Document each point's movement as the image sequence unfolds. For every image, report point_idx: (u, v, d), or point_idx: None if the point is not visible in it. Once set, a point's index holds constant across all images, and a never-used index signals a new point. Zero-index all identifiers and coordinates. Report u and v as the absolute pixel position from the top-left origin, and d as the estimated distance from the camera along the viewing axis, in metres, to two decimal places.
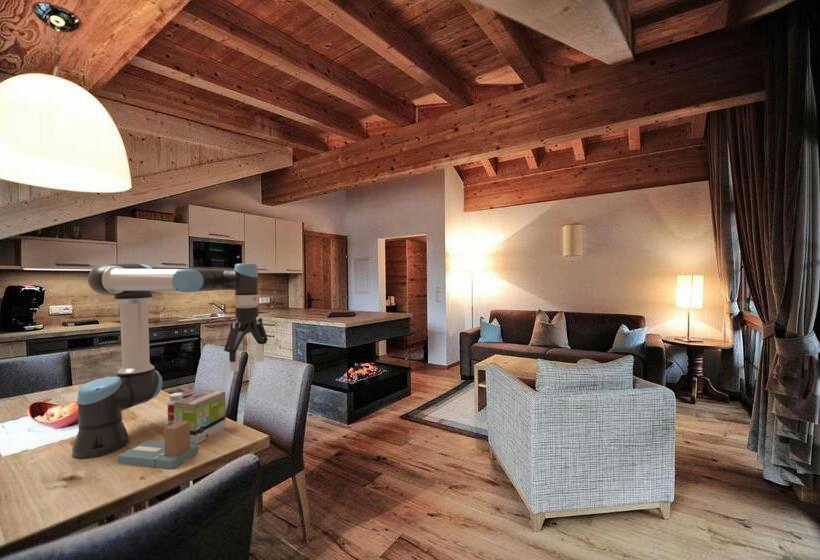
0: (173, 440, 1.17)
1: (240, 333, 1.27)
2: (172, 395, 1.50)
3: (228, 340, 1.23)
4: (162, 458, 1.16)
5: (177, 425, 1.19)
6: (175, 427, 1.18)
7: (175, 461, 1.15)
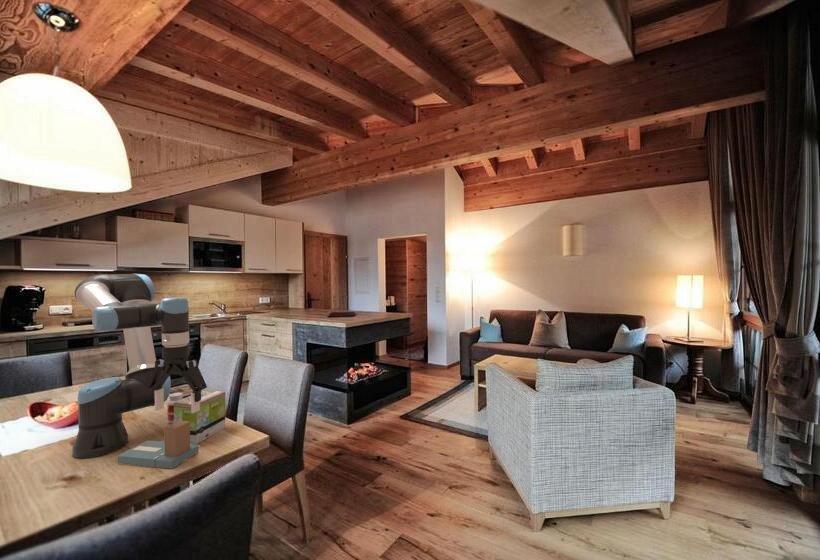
0: (173, 440, 1.17)
1: None
2: (172, 395, 1.50)
3: None
4: (162, 458, 1.16)
5: (177, 425, 1.19)
6: (175, 427, 1.18)
7: (175, 461, 1.15)
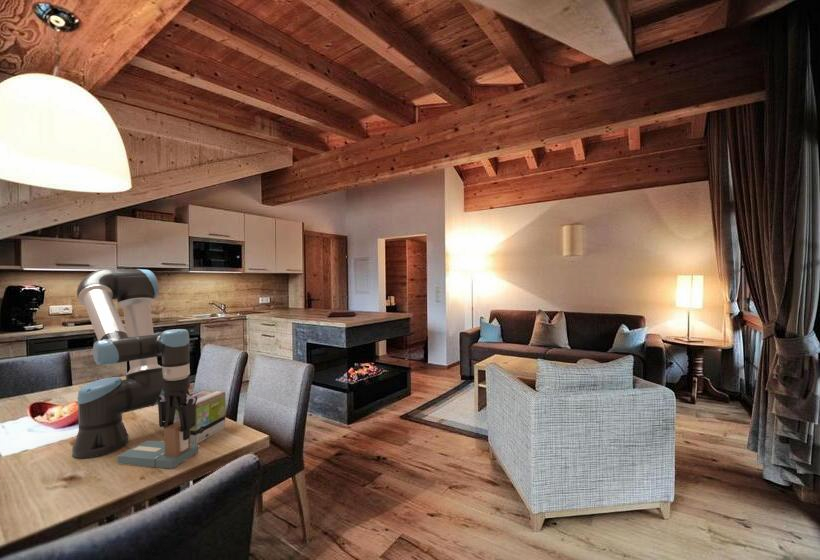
0: (173, 440, 1.17)
1: None
2: None
3: None
4: (162, 458, 1.16)
5: (177, 425, 1.19)
6: (175, 427, 1.18)
7: (175, 461, 1.15)
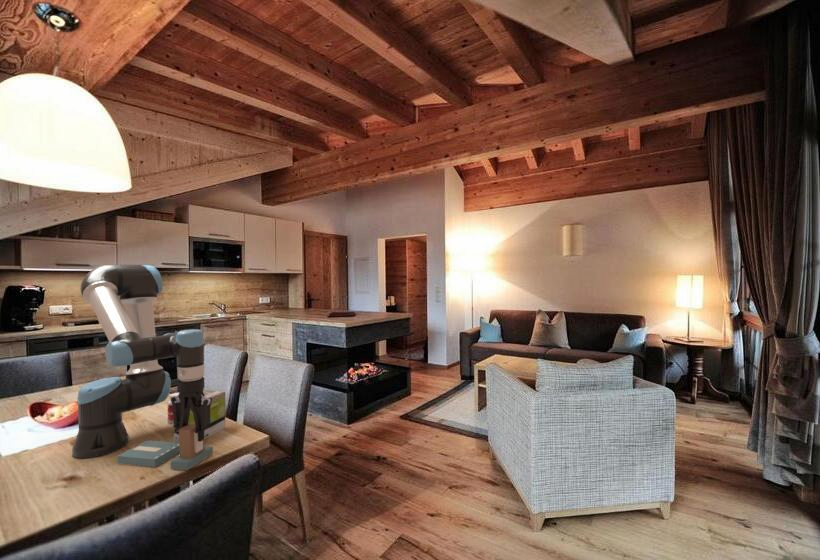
0: (188, 441, 1.16)
1: None
2: (172, 395, 1.50)
3: None
4: (177, 460, 1.15)
5: (191, 426, 1.18)
6: (190, 428, 1.17)
7: (190, 462, 1.14)
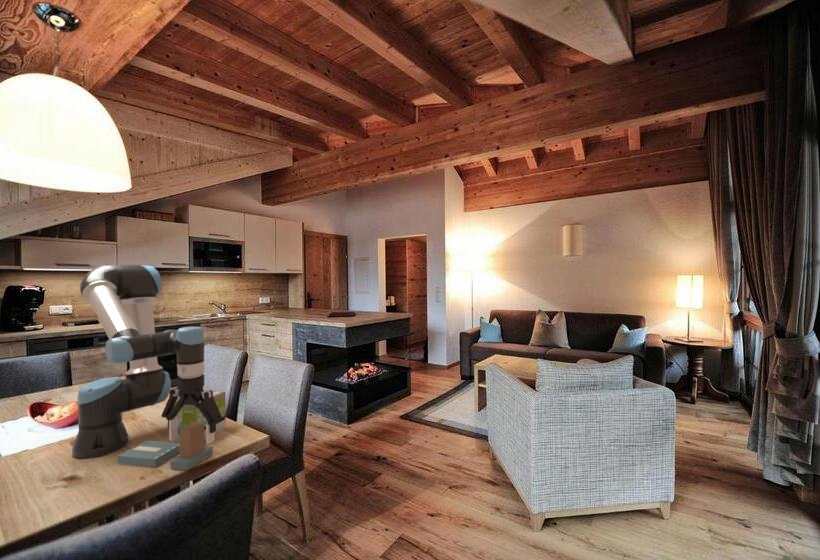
0: (188, 441, 1.16)
1: None
2: None
3: None
4: (177, 460, 1.15)
5: (191, 426, 1.18)
6: (190, 428, 1.17)
7: (190, 462, 1.14)
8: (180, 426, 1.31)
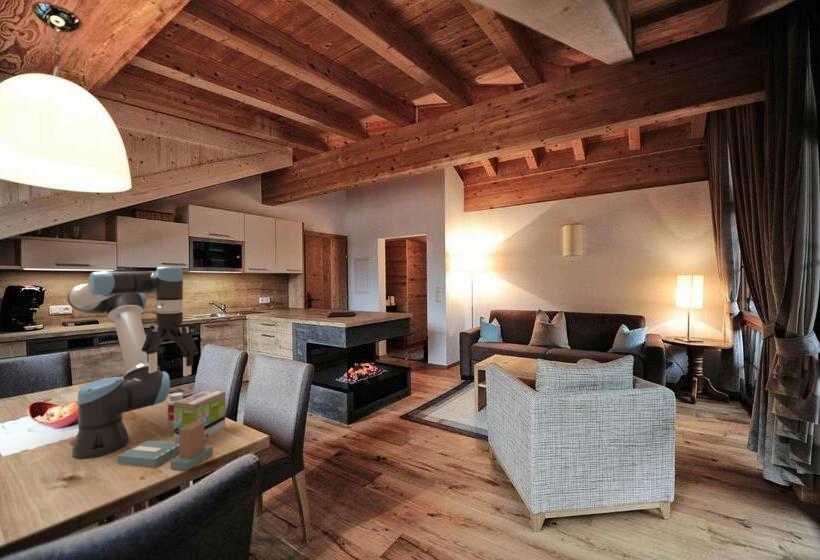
0: (188, 441, 1.16)
1: None
2: (172, 395, 1.50)
3: None
4: (177, 460, 1.15)
5: (191, 426, 1.18)
6: (190, 428, 1.17)
7: (190, 462, 1.14)
8: (180, 426, 1.31)
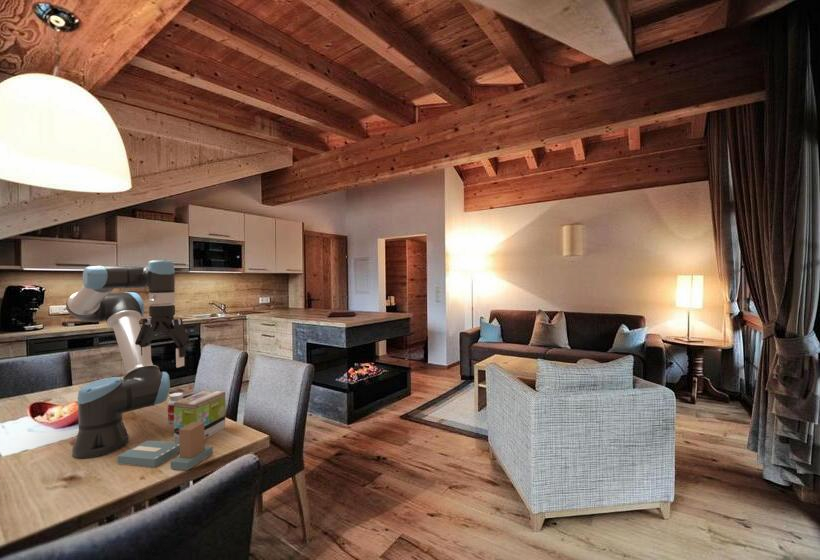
0: (188, 441, 1.16)
1: None
2: (172, 395, 1.50)
3: None
4: (177, 460, 1.15)
5: (191, 426, 1.18)
6: (190, 428, 1.17)
7: (190, 462, 1.14)
8: (180, 426, 1.31)
